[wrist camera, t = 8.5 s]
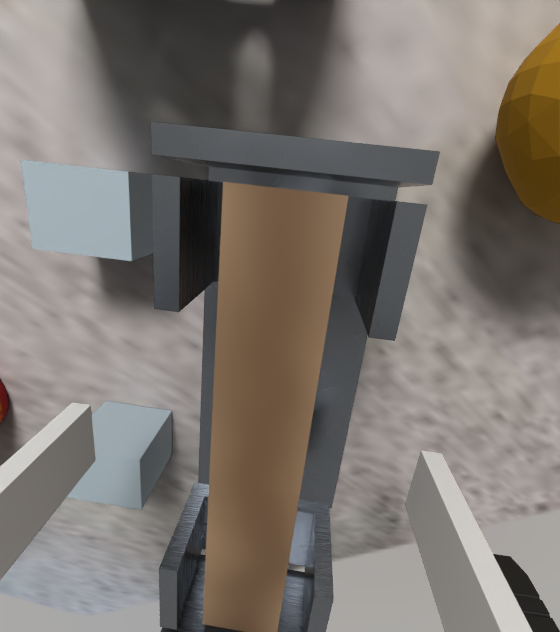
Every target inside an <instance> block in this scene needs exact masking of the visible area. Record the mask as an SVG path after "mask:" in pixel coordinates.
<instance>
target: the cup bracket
mask: <svg viewBox="0 0 560 632" xmlns="http://www.w3.org/2000/svg"><path fill="white" fill-rule="evenodd" d="M151 153H152V155H156V156H161V157H165V158H169V159H173V160H177V161H181V162H185V163H190V164H194V165H198V166H208V167H209V177H208V180H200V179H192V178H184V177H175V176H166V175H157V174H152V208H153V263H154V309H160V310H168V311H175V312H179V311H181V310H182V309H183V308H184V307H185V306H186V305H187V304H189V303H190V302H191V301H192V300H193V299H194V298H195V297H197V296H198V295H199V294H200V293H201V292H202V291H204V290H205V297H204V327H203V358H202V388H201V418H200V448H199V478H198V483H194V486H193V488H192V490H191V493H190V495H189V498H188V500H187V503H186V505H185V507H184V510H183V512H182V515H181V517H180V519H179V522H178V524H177V527H176V529H175V531H174V534H173V536H172V539H171V541H170V543H169V546H168V548H167V551H166V553H165V556H164V558H163V560H162V563H161V565H160V568H159V592H160V627H162V630H161V632H244V631H238V630H232V629H227V628H221V627H216V626H210V625H205V624H203V602H204V581H205V560H206V555H200V554H201V551H202V549H206V538H207V517H208V495H209V474H210V453H211V431H212V410H213V388H214V367H215V346H216V324H217V303H218V281H219V260H220V239H221V217H222V196H223V182H231V183H239V184H248V185H257V186H266V187H275V188H284V189H293V190H302V191H311V192H320V193H329V194H338V195H346V196H348V202H347V208H346V215H345V221H344V227H343V233H342V239H341V245H340V251H339V257H338V264H337V270H336V276H335V282H334V288H333V294H332V300H331V306H330V313H329V319H328V325H327V331H326V337H325V343H324V349H323V355H322V361H321V368H320V374H319V380H318V386H317V392H316V398H315V404H314V410H313V417H312V423H311V429H310V435H309V441H308V447H307V453H306V459H305V466H304V472H303V478H302V484H301V490H300V496H299V502H298V508H297V515H296V521H295V527H294V533H293V539H292V545H291V551H290V557H289V564H295V565H301V566H305V572H300V571H294V570H287V576H286V582H285V588H284V594H283V600H282V606H281V613H280V619H279V625H278V631H277V632H326V628H327V624H328V620H329V615H330V611H331V607H332V603H333V578H332V557H331V535H330V513H329V508H332V503H333V498H334V493H335V488H336V484H337V479H338V474H339V469H340V464H341V460H342V455H343V450H344V445H345V440H346V435H347V431H348V426H349V421H350V416H351V411H352V406H353V402H354V397H355V392H356V387H357V382H358V378H359V373H360V368H361V363H362V358H363V353H364V349H365V344H366V339H367V334H368V337H370V338H378V339H385V340H393V341H395V338H396V334H397V330H398V326H399V321H400V317H401V313H402V309H403V305H404V300H405V296H406V292H407V288H408V284H409V279H410V275H411V271H412V267H413V263H414V258H415V254H416V250H417V246H418V242H419V237H420V233H421V229H422V225H423V221H424V216H425V212H426V208H427V205H425V204H416V203H407V202H398V201H395V199H396V194H397V189H398V187H411V186H424V185H432V183H433V179H434V174H435V170H436V166H437V162H438V158H439V153H440V152H439V151H429V150H420V149H410V148H400V147H391V146H381V145H371V144H362V143H352V142H343V141H333V140H323V139H314V138H304V137H294V136H285V135H275V134H266V133H256V132H246V131H237V130H227V129H218V128H208V127H198V126H189V125H179V124H169V123H160V122H151Z"/></svg>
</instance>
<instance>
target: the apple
mask: <svg viewBox="0 0 560 632" xmlns="http://www.w3.org/2000/svg"><path fill="white" fill-rule="evenodd" d="M495 139H496V142H497V146H498V149H499V152H500V155H501V159H502V162H503V165H504V169H505V172H506V174H507V176H508V178H509V179H510V181H511V183H512V185H513V187H514V189H515V191H516V193H517V195H518V197H519V199H520V200H521V202H522V203H523V204H524V205H525V206H526V207H527V208H529V209H530V210H531V211H532V212H533V213H534V214H536V215H538V216H541V217H543V218H545V219H547V220H549V221H552V222H555V223H559V224H560V24H559V25H558V26H557V27H556V28H555V29H554V30H553V31H552V32H551V33H550V34H549V35H548V36H547V37H546V38H545V39H544V40H543V41H542V42H541V43H540V44H539V45H538V46H537V47H536V48H535V49H534V50H533V51H532V52H531V53H530V54H529V56H528V57H527V58H526V59H525V60H524V61H523V63H522V64H521V66H520V67H519V69H518V70H517V71H516V73H515V74H514V76H513V77H512V79H511V80H510V82H509V84H508V86H507V89H506V92H505V95H504V97H503V100H502V103H501V106H500V109H499V113H498V119H497V128H496V136H495Z"/></svg>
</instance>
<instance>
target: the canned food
mask: <svg viewBox="0 0 560 632" xmlns="http://www.w3.org/2000/svg"><path fill="white" fill-rule="evenodd" d="M7 410H8V398H7V393H6V391H5V388H4V386H3V384H2V383H1V381H0V423H1V422H2V420H3V419H4V418H5V416H6V413H7Z"/></svg>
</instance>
